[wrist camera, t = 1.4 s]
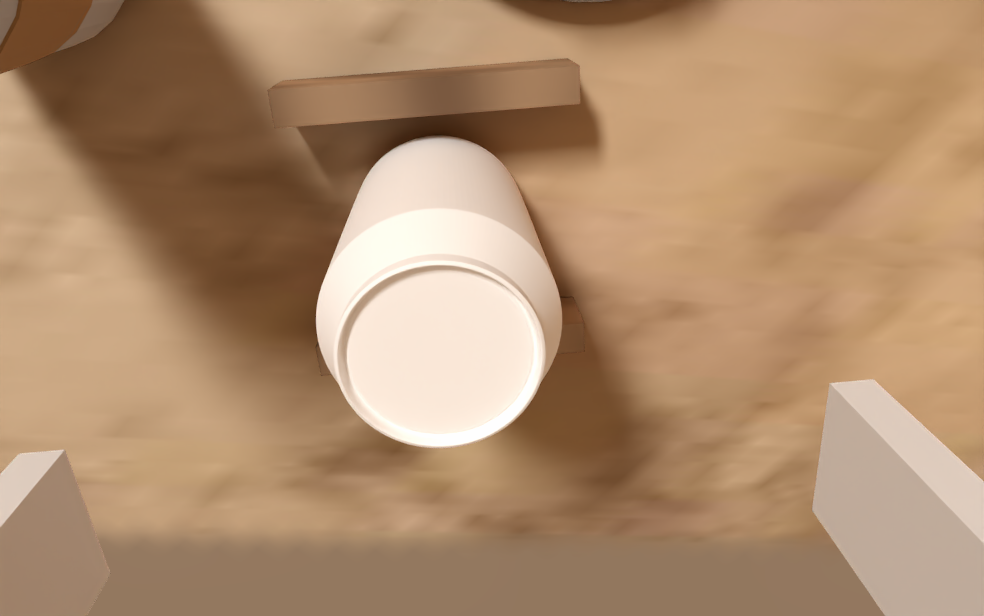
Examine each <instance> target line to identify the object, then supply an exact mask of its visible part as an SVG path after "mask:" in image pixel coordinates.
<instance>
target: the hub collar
mask: <svg viewBox="0 0 984 616" xmlns="http://www.w3.org/2000/svg"><path fill="white" fill-rule="evenodd" d="M562 1H570V2H603V1H610V0H562Z"/></svg>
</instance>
